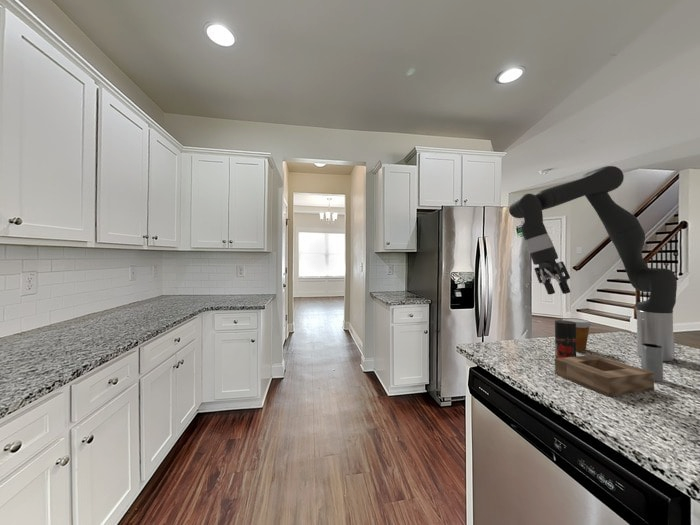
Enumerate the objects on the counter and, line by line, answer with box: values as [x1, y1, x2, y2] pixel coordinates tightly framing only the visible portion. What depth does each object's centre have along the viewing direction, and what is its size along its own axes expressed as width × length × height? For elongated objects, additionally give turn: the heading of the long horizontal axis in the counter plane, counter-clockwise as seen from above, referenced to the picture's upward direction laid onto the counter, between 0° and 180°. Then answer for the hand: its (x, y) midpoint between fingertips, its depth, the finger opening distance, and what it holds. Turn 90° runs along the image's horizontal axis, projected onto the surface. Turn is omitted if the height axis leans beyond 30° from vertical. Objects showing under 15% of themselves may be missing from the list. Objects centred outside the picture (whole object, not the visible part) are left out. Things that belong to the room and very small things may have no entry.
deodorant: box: [554, 319, 577, 360], centre depth 101 cm, size 6×6×15 cm
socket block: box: [554, 354, 655, 398], centre depth 87 cm, size 16×16×5 cm
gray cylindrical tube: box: [640, 343, 664, 383], centre depth 88 cm, size 4×4×10 cm
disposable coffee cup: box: [562, 317, 591, 352], centre depth 118 cm, size 10×10×12 cm
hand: (558, 293), depth 99 cm, fingers open, 8 cm apart
